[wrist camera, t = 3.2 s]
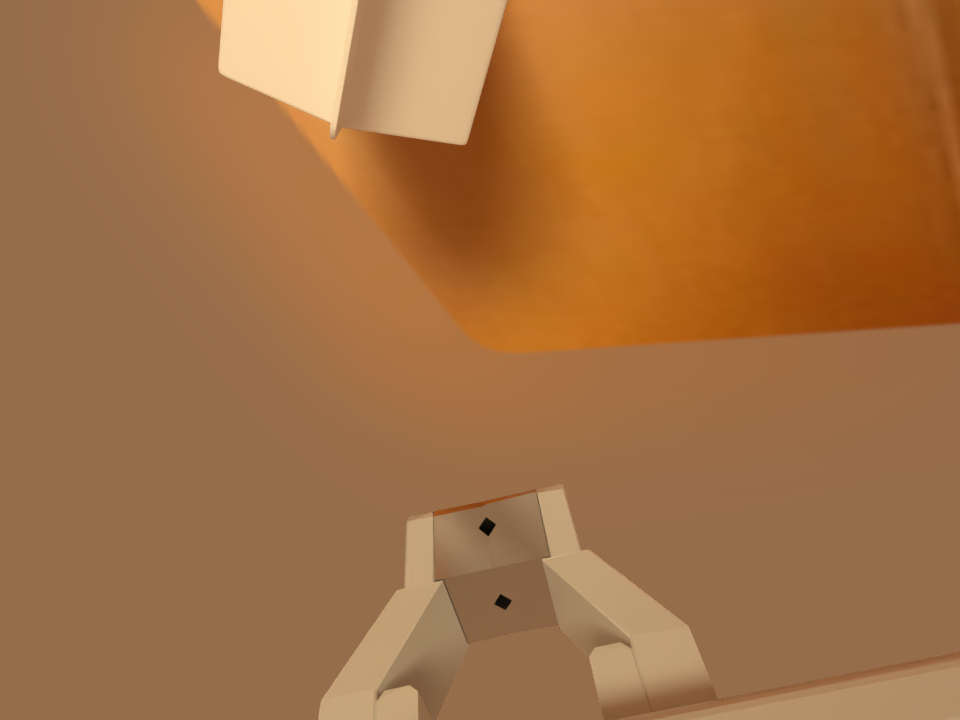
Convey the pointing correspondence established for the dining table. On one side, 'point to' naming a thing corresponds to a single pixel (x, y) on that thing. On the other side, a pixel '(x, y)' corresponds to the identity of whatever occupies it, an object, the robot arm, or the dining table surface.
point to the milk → (367, 60)
